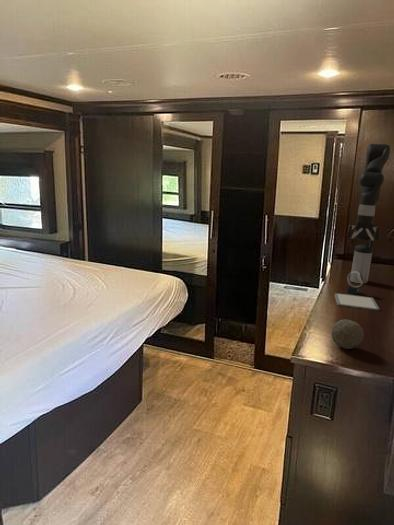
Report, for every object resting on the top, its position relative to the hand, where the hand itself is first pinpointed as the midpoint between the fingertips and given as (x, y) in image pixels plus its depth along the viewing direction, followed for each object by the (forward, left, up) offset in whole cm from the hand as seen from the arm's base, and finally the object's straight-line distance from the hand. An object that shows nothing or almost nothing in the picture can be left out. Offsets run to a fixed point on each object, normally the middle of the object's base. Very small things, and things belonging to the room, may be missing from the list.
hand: (360, 246), depth 197 cm
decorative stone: (+72, -12, -24) cm, 77 cm away
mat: (+16, -1, -24) cm, 29 cm away
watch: (0, 0, -24) cm, 24 cm away
